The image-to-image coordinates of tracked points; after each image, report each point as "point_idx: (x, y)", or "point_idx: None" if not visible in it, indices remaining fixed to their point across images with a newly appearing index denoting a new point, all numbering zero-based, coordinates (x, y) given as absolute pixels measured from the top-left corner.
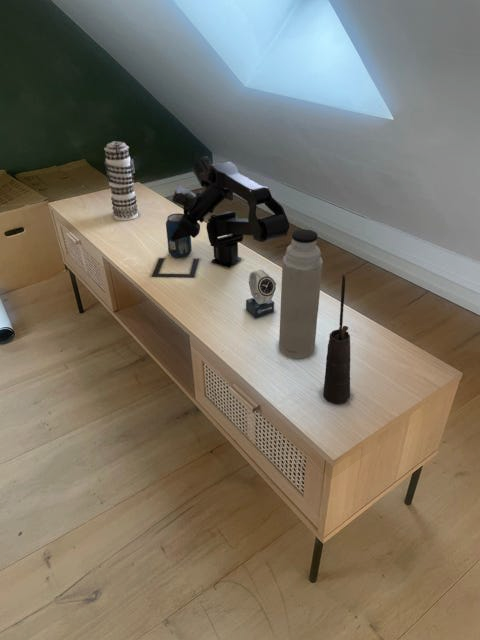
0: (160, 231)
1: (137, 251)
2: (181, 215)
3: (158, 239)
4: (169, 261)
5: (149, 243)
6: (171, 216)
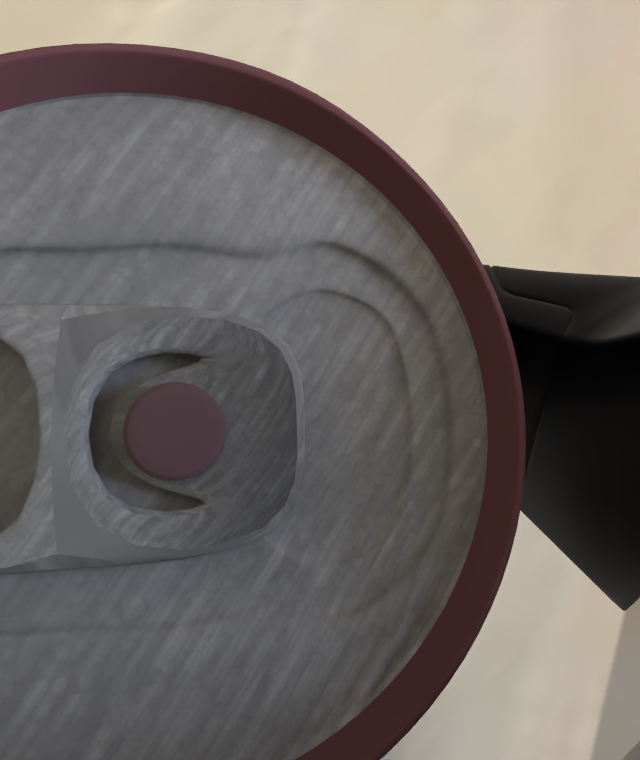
0: (457, 6)
1: (20, 15)
2: (448, 393)
3: (333, 67)
4: None
5: (226, 34)
6: (200, 145)
